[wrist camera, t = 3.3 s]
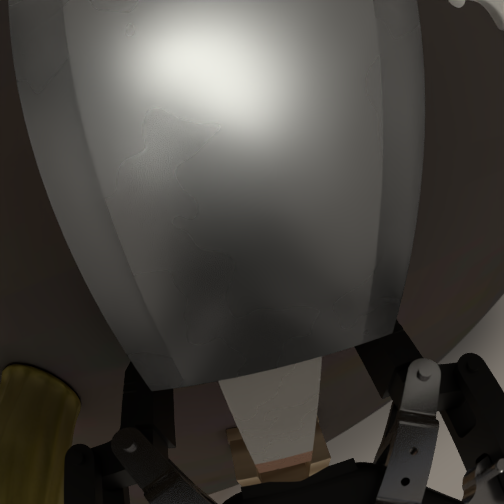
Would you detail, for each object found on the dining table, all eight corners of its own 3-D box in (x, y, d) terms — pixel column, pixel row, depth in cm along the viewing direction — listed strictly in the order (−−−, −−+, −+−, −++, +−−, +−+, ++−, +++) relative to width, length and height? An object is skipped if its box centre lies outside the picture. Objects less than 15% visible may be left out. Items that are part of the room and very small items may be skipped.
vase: (89, 387, 16) (86, 605, 4) (73, 421, 18) (70, 588, 6) (2, 348, 13) (-38, 564, 1) (3, 391, 15) (-21, 558, 3)
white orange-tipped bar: (139, -35, 5) (109, -97, 2) (244, -51, 5) (282, -117, 2) (246, 416, 17) (259, 473, 14) (293, 406, 17) (311, 460, 14)
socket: (226, 429, 21) (241, 510, 15) (314, 408, 21) (342, 485, 15) (237, 449, 24) (251, 517, 18) (312, 432, 24) (334, 497, 18)
